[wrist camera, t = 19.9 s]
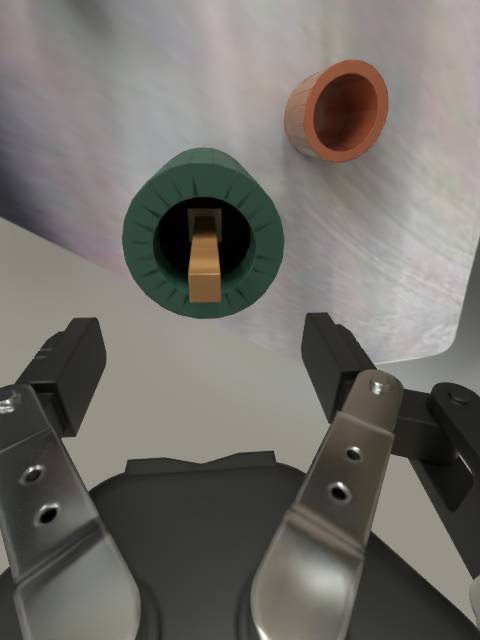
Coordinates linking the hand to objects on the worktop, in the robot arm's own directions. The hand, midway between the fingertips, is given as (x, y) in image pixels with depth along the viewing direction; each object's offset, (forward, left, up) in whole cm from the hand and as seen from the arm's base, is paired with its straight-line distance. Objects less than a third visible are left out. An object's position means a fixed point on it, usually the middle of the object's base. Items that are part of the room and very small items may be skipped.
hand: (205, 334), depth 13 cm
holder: (-8, +11, -25) cm, 28 cm away
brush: (0, 0, -24) cm, 24 cm away
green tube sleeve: (0, 0, -25) cm, 25 cm away
